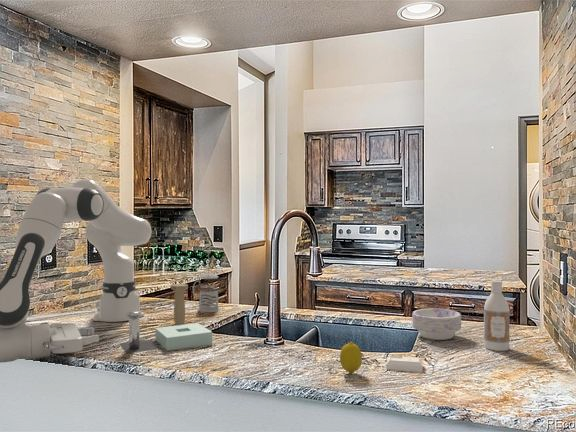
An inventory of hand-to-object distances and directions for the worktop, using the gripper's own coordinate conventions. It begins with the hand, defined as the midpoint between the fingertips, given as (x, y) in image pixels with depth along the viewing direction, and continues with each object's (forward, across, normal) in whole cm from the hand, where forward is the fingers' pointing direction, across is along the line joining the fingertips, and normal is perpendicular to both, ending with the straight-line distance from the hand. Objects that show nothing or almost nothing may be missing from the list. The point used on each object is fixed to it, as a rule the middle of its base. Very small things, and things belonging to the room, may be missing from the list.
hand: (96, 334), depth 142 cm
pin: (+11, 0, +6) cm, 12 cm away
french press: (+50, +46, +6) cm, 68 cm away
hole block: (+26, 0, +6) cm, 26 cm away
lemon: (+54, -50, +6) cm, 74 cm away
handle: (+30, +21, +6) cm, 37 cm away
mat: (+13, +2, +6) cm, 14 cm away
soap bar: (+69, -53, +6) cm, 87 cm away
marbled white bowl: (+99, -34, +6) cm, 105 cm away
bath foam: (+105, -53, +6) cm, 117 cm away
